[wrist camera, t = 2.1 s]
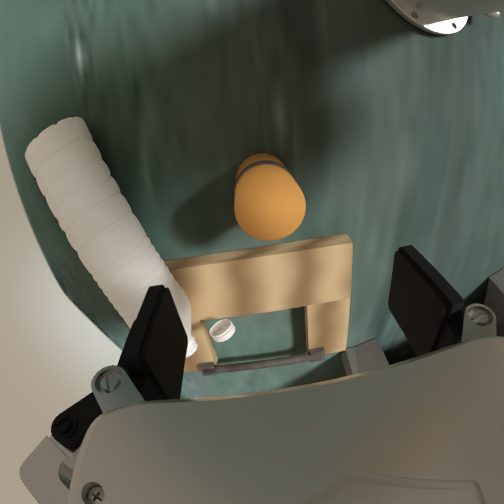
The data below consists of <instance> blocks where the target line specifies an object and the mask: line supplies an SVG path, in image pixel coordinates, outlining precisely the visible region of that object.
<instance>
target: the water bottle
mask: <svg viewBox="0 0 504 504" xmlns="http://www.w3.org/2000/svg"><path fill="white" fill-rule="evenodd" d="M25 159H26V161H27V163H28V166H29V168H30V170H31V172H32V174H33V176H34V177H35V178H36V181H37V184H38V186H39V188H40V190H41V192H42V194H43V195H44V196H45V197H46V201H47V204H48V206H49V208H50V210H51V211H52V213H53V215H54V216H55V218H56V219H58V221H59V226H60V227H61V229H62V230H63V231H65V233H66V237H67V239H68V241H69V242H70V244H71V246H72V247H73V248H74V250H76V251H77V252H78V256H79V258H80V260H81V262H82V263H83V265H84V266H85V267H86V269H87V270H88V271H89V273H90V274H92V277H93V279H94V280H95V281H96V282H97V284H98V286H99V287H100V288H101V289H102V290H103V293H104V294H105V296H107V297H108V300H109V301H110V302H111V303H112V304H113V306H114V308H115V309H116V310H117V311H118V313H119V314H120V316H121V317H123V319H124V321H125V322H126V324H127V325H128V326H129V328H130V329H131V327H132V324H133V322H134V320H136V318H137V315H138V313H139V310H140V308H141V305H142V303H143V300H144V298H145V295H146V293H147V290H148V288H149V286H155V285H164V286H165V288H167V287H168V288H169V289H170V292H171V295H172V297H173V300H174V303H175V305H176V308H177V311H178V313H179V316H180V319H181V321H182V324H183V326H184V329H185V331H186V334H187V337H188V347H187V353H186V357H189V356H191V355H192V354H193V353H194V352H195V351H196V350H197V347H198V345H197V343H196V341H195V337H194V336H192V335H191V305H190V301H189V299H188V297H187V295H186V293H185V292H184V290H183V289H182V287H181V286H180V285H179V283H178V282H177V281H176V280H175V279H174V276H173V275H172V273H170V271H169V269H168V267H167V266H166V265H165V263H164V261H163V260H162V259H161V258H160V255H159V253H158V252H157V251H155V247H154V245H153V244H151V241H150V239H149V237H147V236H146V233H145V231H144V229H143V227H142V226H141V224H140V222H139V220H138V219H137V217H136V216H135V215H134V214H133V213H132V211H131V207H130V205H129V204H128V202H127V200H126V199H125V197H124V196H123V195H121V193H120V188H119V186H118V184H117V183H116V181H115V179H114V178H113V177H111V175H110V170H109V168H108V166H107V165H106V163H105V162H104V161H103V160H102V157H101V154H100V151H99V149H98V148H97V146H96V144H95V143H94V142H93V141H92V136H91V134H90V132H89V130H88V128H87V125H86V123H85V122H84V120H83V119H82V118H81V117H74V118H72V117H69V118H66V119H63V120H61V121H59V122H58V123H57V124H56V125H51V126H49V127H48V128H46V129H45V130H43V131H42V132H41V133H40V134H39V135H38V138H35V139H33V140H32V142H31V143H30V144H29V145H28V147H27V150H26V152H25ZM218 324H219V325H218ZM214 327H215V328H214ZM212 330H213V331H212ZM211 332H212V333H211ZM234 332H235V327H234V325H233V324H232V322H231V321H230V320H229V319H223V320H221V321H219V322H217V323H216V324H214V325H213V326H212V328H211V329H210V335H211V336H212V338H213V339H214V340H215V341H216V342H223V341H226V340H227V339H229V338H230V337H231V336H232V335H233V334H234Z"/></svg>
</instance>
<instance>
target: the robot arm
mask: <svg viewBox="0 0 504 504" xmlns="http://www.w3.org/2000/svg"><path fill="white" fill-rule="evenodd" d="M386 1H387V2H388V4H389V5H390V6H391V7H392V8H393V9H394V10H395V11H396V12H397V13H398V14H400V15H401V16H402V17H403V18H404V19H405V20H407V21H408V22H410V23H411V24H413V25H414V26H416V27H418V28H420V29H422V30H424V31H426V32H429V33H432V34H438V35H446V34H452V33H456V32H458V31H460V30H461V29H462V28H463V27H464V25H465V24H466V21H467V18H468V16H474V15H480V14H484V15H486V16H488V17H491V18H493V19H498V18H499V12H503V11H504V0H386ZM388 306H389V309H390V311H391V313H392V315H393V316H394V318H395V319H396V321H397V323H398V324H399V326H400V328H401V329H402V331H403V333H404V334H405V336H406V338H407V340H408V341H409V343H410V345H411V346H412V348H413V350H414V352H415V353H416V355H417V357H415V358H411V359H408V360H405V361H402V362H398V363H395V364H392V365H388V366H385V367H381V368H377V369H373V370H370V371H366V372H362V373H358V374H354V375H349V376H345V377H341V378H336V379H332V380H327V381H322V382H317V383H312V384H306V385H301V386H295V387H289V388H282V389H276V390H269V391H262V392H254V393H245V394H236V395H226V396H214V397H201V398H186V399H180V394H181V387H182V380H183V373H184V366H185V359H186V353H187V347H188V337H187V334H186V331H185V329H184V326H183V324H182V321H181V319H180V316H179V313H178V311H177V308H176V305H175V303H174V300H173V297H172V295H171V292H170V289H169V288H168V287H167V288H165V286H164V285H155V286H149V288H148V290H147V293H146V295H145V298H144V300H143V303H142V305H141V308H140V310H139V313H138V315H137V318H136V320H134V322H133V324H132V327H131V329H130V332H129V334H128V337H127V340H126V343H125V345H124V348H123V351H122V354H121V356H120V359H119V362H118V365H117V366H114V365H112V366H107V367H105V368H103V369H101V370H100V371H98V372H97V373H96V375H95V376H94V377H93V379H92V382H91V387H92V391H93V392H92V393H90V394H89V395H87V396H86V397H84V398H83V399H81V400H80V401H79V402H77V403H75V404H74V405H72V406H71V407H70V408H68V409H66V410H65V411H64V412H62V413H60V414H59V415H58V416H57V417H56V418H55V419H54V421H53V423H52V426H51V433H52V435H51V437H50V438H49V437H48V436H46V437H45V438H44V439H43V440H42V441H41V443H40V444H39V445H38V446H37V447H36V449H34V451H33V452H32V453H31V454H30V455H29V456H28V458H27V459H26V460H25V461H24V462H23V464H22V465H21V467H20V478H21V480H22V482H23V483H24V485H25V486H26V487H27V489H28V490H29V491H30V493H31V494H32V495H33V497H34V498H35V499H36V500H37V502H38V503H39V504H504V325H501V324H498V323H496V315H495V314H494V312H493V311H492V310H491V309H490V308H489V307H487V306H486V305H483V304H478V303H475V304H471V305H468V306H467V308H466V307H465V305H464V300H463V298H462V297H461V296H460V295H459V294H458V293H457V292H456V290H455V289H454V288H453V287H452V286H451V285H450V284H449V283H448V282H447V281H446V280H445V278H444V277H443V276H442V275H441V274H440V273H439V272H438V271H437V270H436V269H435V268H434V267H433V266H432V265H431V264H430V263H429V262H428V261H427V260H426V259H425V258H424V257H423V256H422V255H421V254H420V253H419V252H418V251H417V250H416V249H415V248H414V247H413V246H412V245H409V246H404V247H400V248H399V249H398V251H396V252H395V255H394V264H393V272H392V280H391V287H390V294H389V300H388Z"/></svg>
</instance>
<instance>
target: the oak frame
mask: <svg viewBox="0 0 504 504" xmlns="http://www.w3.org/2000/svg"><path fill="white" fill-rule="evenodd" d="M352 250H353V242H352V241H351V240H350V238H349V237H348V236H347V234H343V235H336V236H329V237H322V238H316V239H309V240H302V241H296V242H289V243H282V244H275V245H269V246H262V247H256V248H249V249H242V250H236V251H229V252H222V253H216V254H209V255H203V256H196V257H190V258H183V259H177V260H170V261H164V263H165V265H166V266H167V267H168V269H169V271H170V273H172V275H173V276H174V279H175V280H176V281H177V282H178V283H179V285H180V286H181V287H182V289H183V290H184V292H185V293H186V295H187V297H188V299H189V301H190V305H191V335H192V336H194V337H195V341H196V343H197V345H198V347H197V350H196V351H195V352H194V353H193V354H192V355H191V356H189V357H186V359H185V366H184V372H189V371H202V373H203V376H205V375H217V373H223V372H233V371H243V370H252V369H260V368H267V367H275V366H282V365H288V364H294V363H300V362H306V361H310V362H315V361H321V360H324V355H325V354H330V353H335V352H340V351H344V350H346V342H347V332H348V322H349V309H350V295H351V277H352ZM303 306H304V307H305V328H306V348H307V352H308V354H302V355H296V356H290V357H283V358H276V359H269V360H262V361H254V362H246V363H237V364H227V365H218V356H217V353H216V351H215V348H214V345H213V342H212V339H211V337H210V334H209V331H208V328H207V325H206V322H205V320H210V319H218V318H227V317H235V316H242V315H250V314H257V313H264V312H271V311H278V310H284V309H290V308H297V307H303Z"/></svg>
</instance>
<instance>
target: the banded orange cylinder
mask: <svg viewBox="0 0 504 504" xmlns="http://www.w3.org/2000/svg"><path fill="white" fill-rule="evenodd" d="M234 201H235V204H234V211H235V216H236V219H237V222H238V224H239V225H240V227H241V228H242V229H243V230H244V231H245V232H246V233H247V234H249V235H250V236H252V237H254V238H257V239H260V240H266V241H271V240H278V239H281V238H284V237H286V236H288V235H290V234H291V233H292V232H294V231H295V230H296V229H297V228H298V226H299V225H300V224H301V222H302V220H303V218H304V215H305V209H306V203H305V198H304V195H303V192H302V190H301V189H300V187H299V186H298V184H297V182H296V180H295V178H294V176H293V175H292V174H291V172H290V171H289V170H288V169H287V168H286V167H285V166H284V164H283V163H282V162H281V161H280V160H279V159H278V158H276V157H275V156H273V155H270V154H266V153H258V154H254V155H251V156H249V157H248V158H246V159H245V160H244V161H243V162H242V163H241V164H240V166H239V167H238V169H237V172H236V181H235V185H234Z"/></svg>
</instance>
